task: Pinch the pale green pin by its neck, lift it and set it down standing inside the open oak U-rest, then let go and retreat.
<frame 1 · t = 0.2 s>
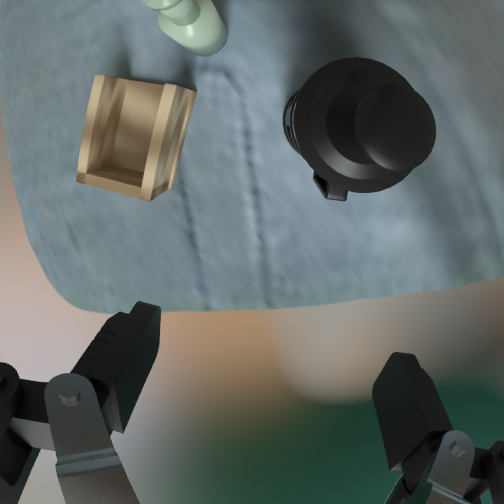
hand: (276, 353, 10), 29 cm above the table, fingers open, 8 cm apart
u rest: (145, 131, 35), on the table
pale green pin: (205, 36, 30), on the table
french press: (323, 127, 34), on the table
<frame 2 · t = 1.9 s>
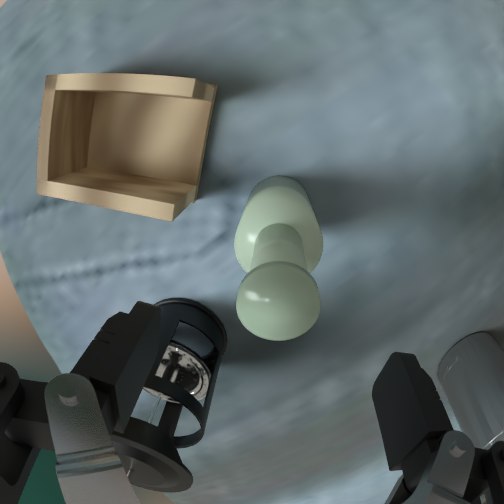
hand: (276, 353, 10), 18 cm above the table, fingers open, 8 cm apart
u rest: (140, 133, 25), on the table
pale green pin: (278, 205, 27), on the table
french press: (180, 332, 33), on the table
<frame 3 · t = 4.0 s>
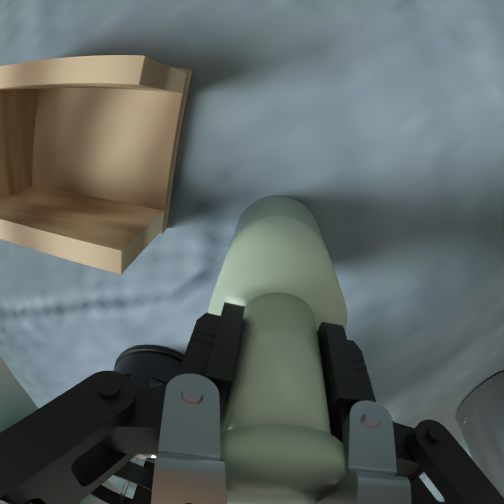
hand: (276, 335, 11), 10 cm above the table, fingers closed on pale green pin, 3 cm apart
u rest: (93, 140, 18), on the table
pale green pin: (277, 236, 20), on the table, touching gripper
french press: (158, 381, 26), on the table
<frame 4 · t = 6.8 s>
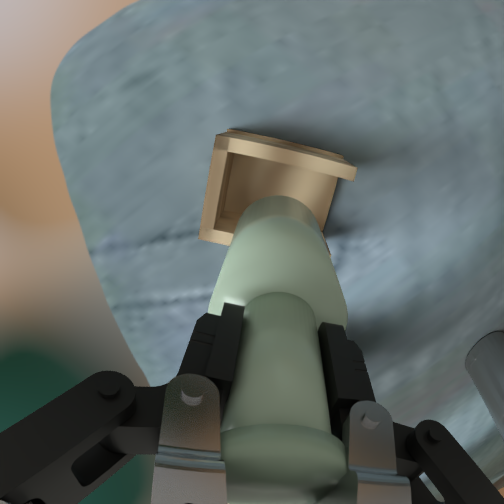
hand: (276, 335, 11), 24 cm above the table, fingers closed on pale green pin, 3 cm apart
u rest: (275, 186, 33), on the table
pale green pin: (277, 236, 20), point 15 cm above the table, touching gripper
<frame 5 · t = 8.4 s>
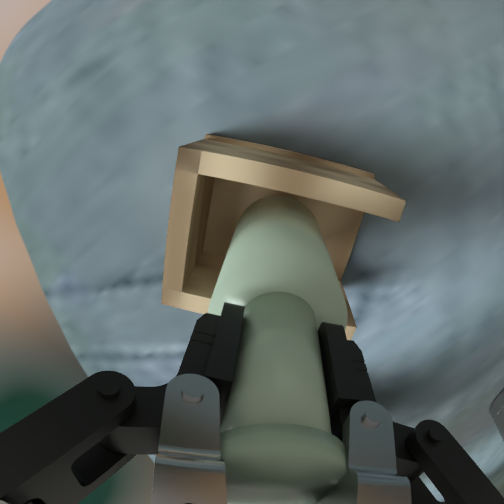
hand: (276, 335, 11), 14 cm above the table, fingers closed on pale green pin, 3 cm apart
u rest: (276, 217, 23), on the table
pale green pin: (277, 236, 20), point 4 cm above the table, touching gripper
when the fingers open (12 cm above the table, at t = 9.6 s): pale green pin stays where it is, resting on u rest.
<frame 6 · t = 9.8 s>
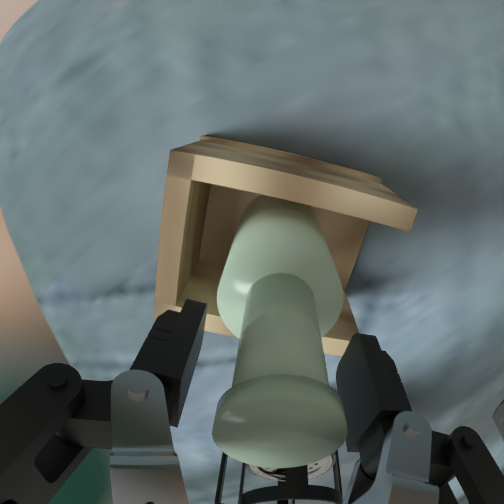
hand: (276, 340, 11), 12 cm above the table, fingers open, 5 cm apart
u rest: (276, 223, 22), on the table
pale green pin: (278, 229, 21), point 1 cm above the table, touching u rest
french press: (285, 413, 30), on the table
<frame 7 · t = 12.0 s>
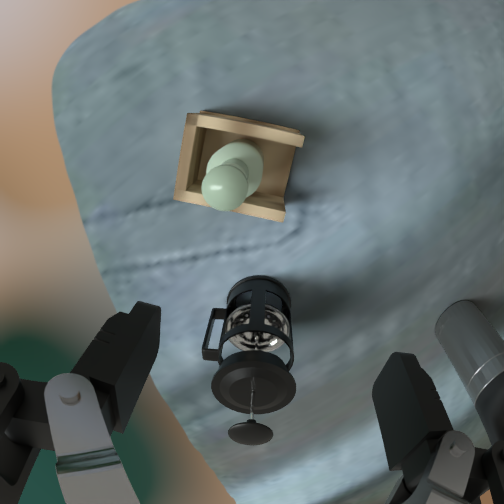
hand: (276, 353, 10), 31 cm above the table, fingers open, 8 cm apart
u rest: (241, 158, 38), on the table
pale green pin: (242, 159, 37), point 1 cm above the table, touching u rest
french press: (255, 302, 47), on the table
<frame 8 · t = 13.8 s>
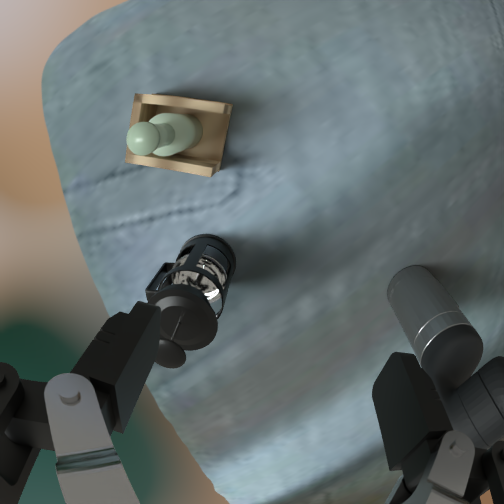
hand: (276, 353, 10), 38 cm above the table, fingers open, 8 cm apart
u rest: (186, 130, 43), on the table
pale green pin: (185, 131, 42), point 1 cm above the table, touching u rest
french press: (204, 260, 52), on the table
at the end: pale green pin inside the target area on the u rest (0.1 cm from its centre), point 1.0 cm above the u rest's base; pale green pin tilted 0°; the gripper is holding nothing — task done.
